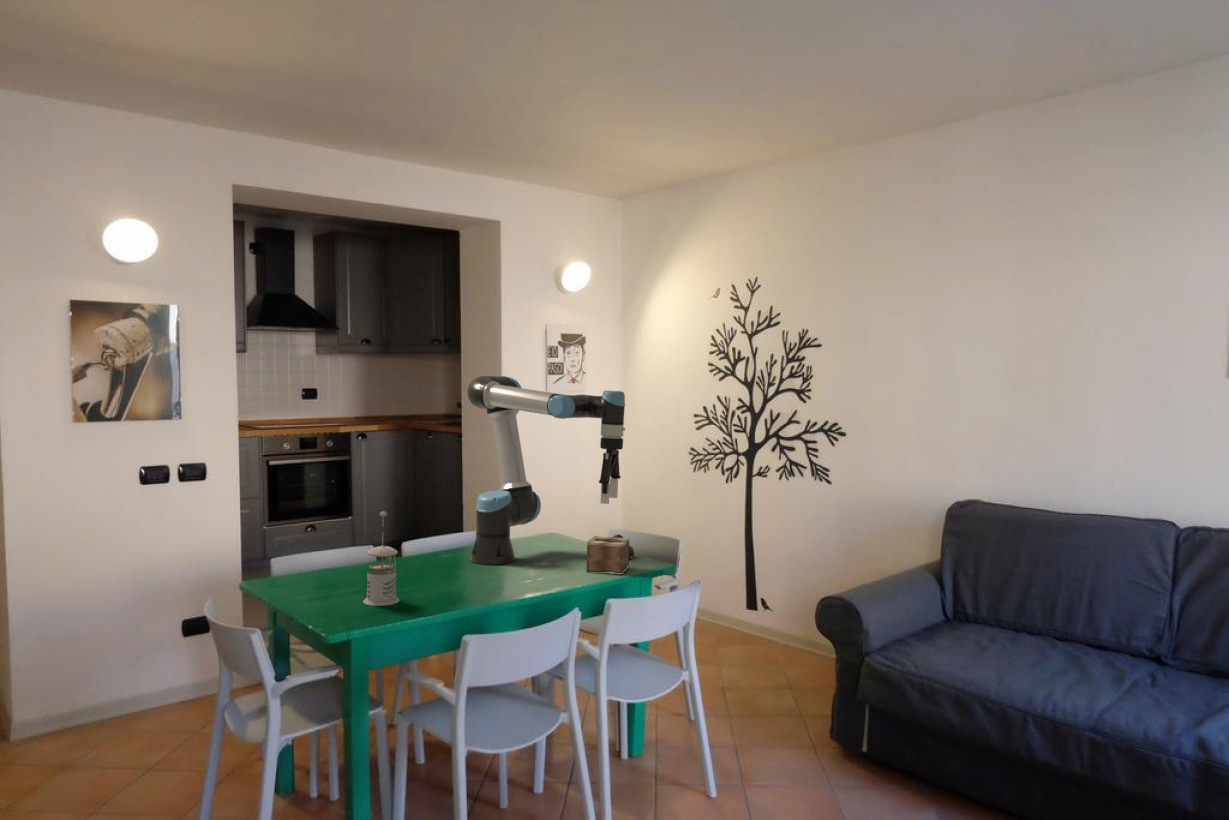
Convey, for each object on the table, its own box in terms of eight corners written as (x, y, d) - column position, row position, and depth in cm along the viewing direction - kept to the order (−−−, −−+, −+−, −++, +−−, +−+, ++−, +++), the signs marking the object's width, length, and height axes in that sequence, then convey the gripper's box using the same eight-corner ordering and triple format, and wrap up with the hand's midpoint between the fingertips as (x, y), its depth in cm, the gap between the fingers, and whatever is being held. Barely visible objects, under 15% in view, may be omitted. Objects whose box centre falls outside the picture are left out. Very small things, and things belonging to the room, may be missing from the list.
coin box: (586, 572, 271) (587, 542, 270) (593, 565, 281) (594, 536, 281) (622, 575, 268) (623, 544, 268) (628, 567, 279) (629, 538, 279)
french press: (356, 604, 225) (358, 513, 224) (376, 593, 236) (378, 507, 235) (390, 607, 223) (392, 515, 222) (408, 596, 234) (410, 509, 233)
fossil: (634, 560, 289) (622, 534, 289) (611, 571, 290) (599, 545, 289) (635, 552, 300) (623, 528, 299) (613, 563, 301) (601, 539, 300)
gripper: (615, 440, 260) (612, 506, 261) (629, 435, 285) (627, 496, 286) (592, 438, 262) (589, 505, 263) (608, 434, 286) (606, 494, 287)
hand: (609, 500), depth 274 cm, fingers open, 13 cm apart
